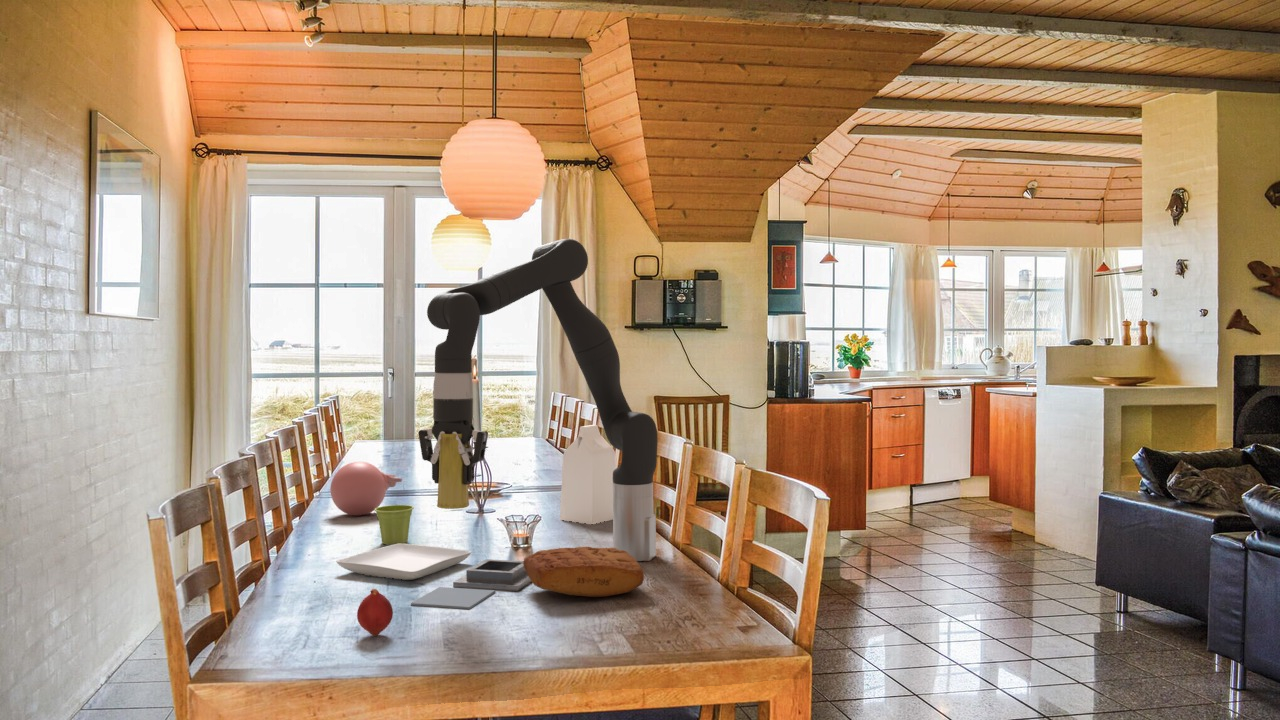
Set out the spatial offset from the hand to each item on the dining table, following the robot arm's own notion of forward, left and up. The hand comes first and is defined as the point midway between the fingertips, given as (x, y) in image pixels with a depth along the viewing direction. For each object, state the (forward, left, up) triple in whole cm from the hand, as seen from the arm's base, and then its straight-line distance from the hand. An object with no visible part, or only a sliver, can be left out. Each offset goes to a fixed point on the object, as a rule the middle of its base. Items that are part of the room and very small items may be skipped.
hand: (452, 483), depth 183 cm
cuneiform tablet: (-23, -9, -22) cm, 34 cm away
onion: (+3, +25, -22) cm, 34 cm away
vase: (0, 0, -5) cm, 5 cm away
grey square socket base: (-3, -14, -22) cm, 27 cm away
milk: (-1, -83, -22) cm, 86 cm away
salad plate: (+21, -19, -23) cm, 36 cm away
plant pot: (+37, -43, -22) cm, 61 cm away
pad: (0, +1, -22) cm, 22 cm away
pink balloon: (+64, -76, -22) cm, 102 cm away
